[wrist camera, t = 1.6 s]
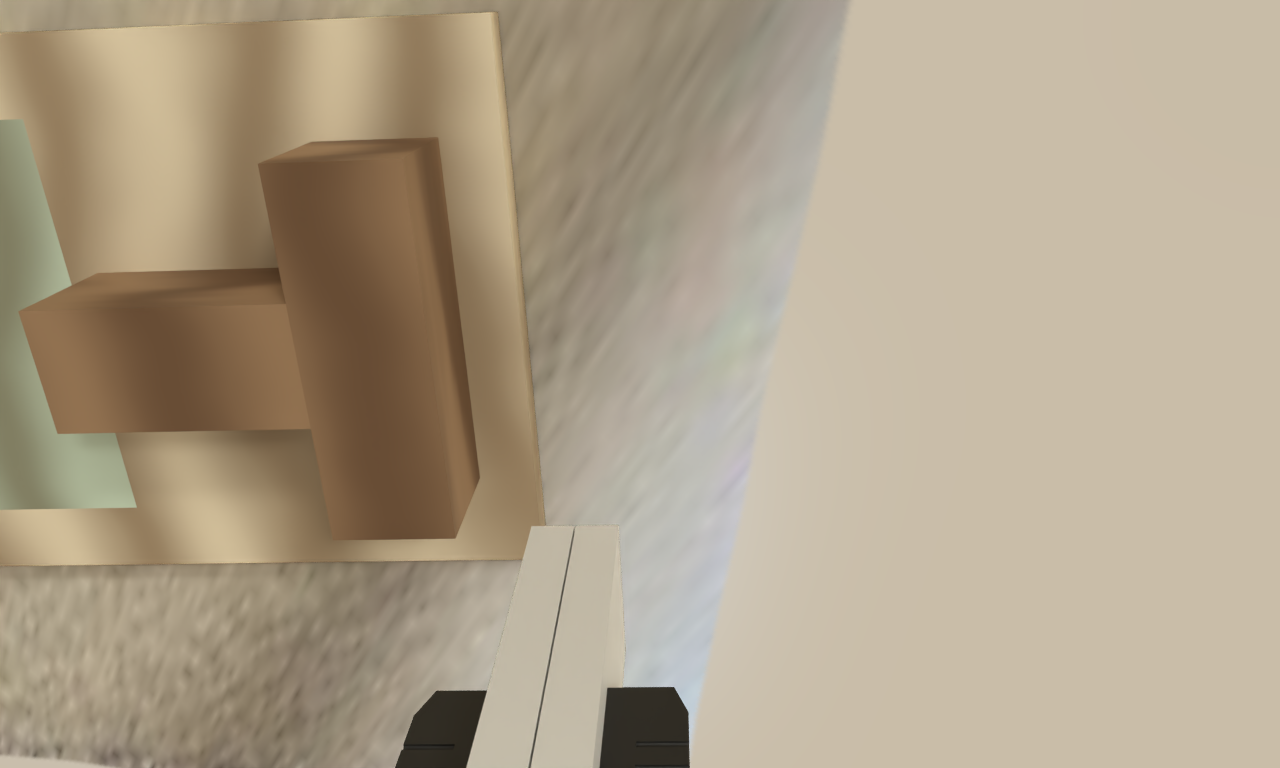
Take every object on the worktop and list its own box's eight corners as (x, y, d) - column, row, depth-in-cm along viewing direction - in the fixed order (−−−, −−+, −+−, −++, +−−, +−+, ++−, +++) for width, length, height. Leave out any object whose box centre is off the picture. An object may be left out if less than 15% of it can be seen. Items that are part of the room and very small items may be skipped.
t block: (438, 137, 28) (402, 158, 25) (480, 477, 33) (455, 538, 29) (63, 150, 29) (-27, 173, 25) (156, 483, 34) (92, 543, 30)
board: (497, 11, 28) (490, 12, 27) (547, 541, 35) (542, 559, 34) (-427, 50, 29) (-470, 53, 28) (-194, 551, 37) (-220, 569, 36)
